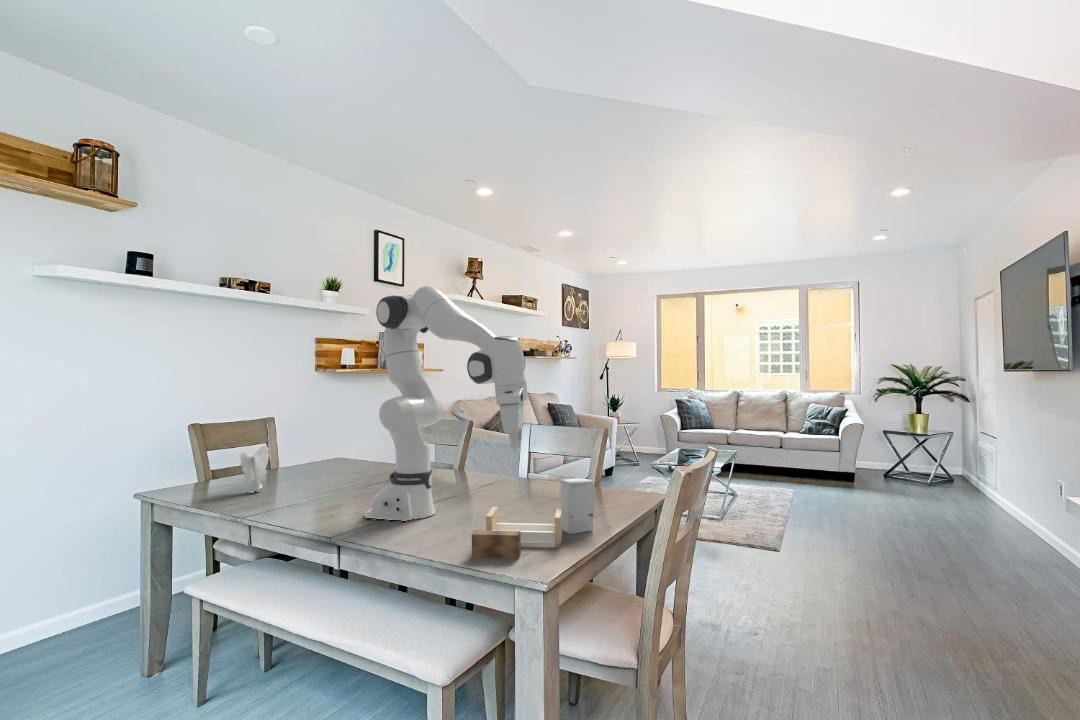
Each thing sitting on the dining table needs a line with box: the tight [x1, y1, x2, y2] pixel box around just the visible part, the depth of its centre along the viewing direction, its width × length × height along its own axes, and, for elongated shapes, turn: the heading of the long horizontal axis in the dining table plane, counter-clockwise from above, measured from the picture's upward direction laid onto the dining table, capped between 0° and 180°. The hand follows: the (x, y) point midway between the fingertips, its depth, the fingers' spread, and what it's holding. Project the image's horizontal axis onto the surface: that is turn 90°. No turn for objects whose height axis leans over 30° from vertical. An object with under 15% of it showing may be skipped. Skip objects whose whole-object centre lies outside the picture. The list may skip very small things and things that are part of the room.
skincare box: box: [560, 477, 594, 535], centre depth 161 cm, size 8×6×15 cm
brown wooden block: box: [471, 529, 522, 560], centre depth 140 cm, size 12×4×6 cm, turn 84°
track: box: [485, 506, 563, 549], centre depth 151 cm, size 20×10×8 cm, turn 85°
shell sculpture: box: [240, 445, 270, 490], centre depth 212 cm, size 8×8×18 cm
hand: (516, 444), depth 150 cm, fingers open, 8 cm apart
